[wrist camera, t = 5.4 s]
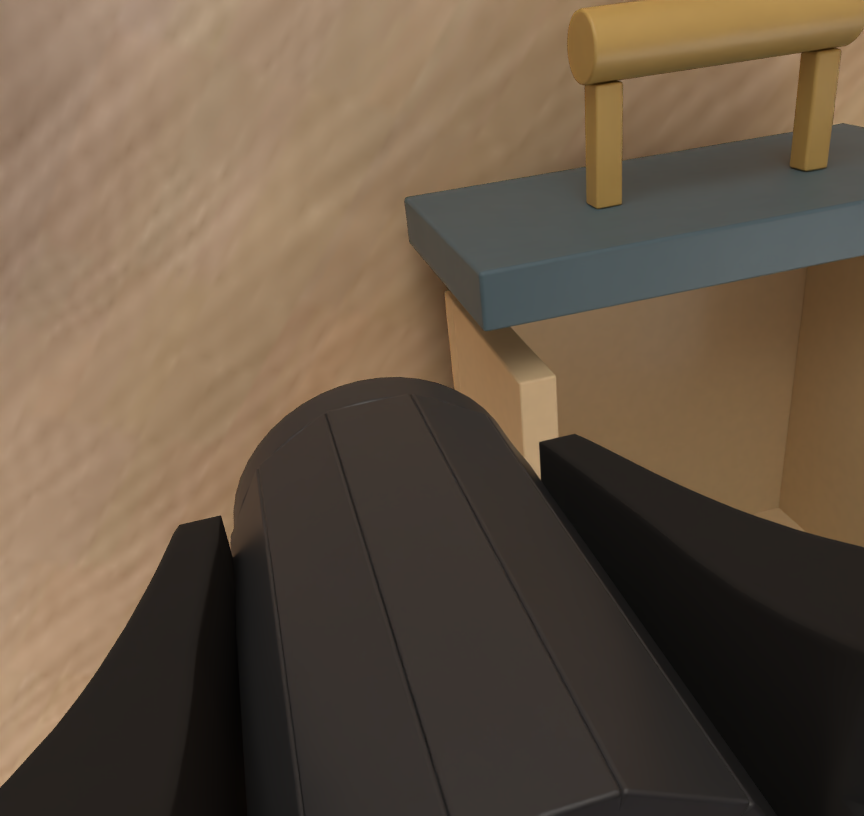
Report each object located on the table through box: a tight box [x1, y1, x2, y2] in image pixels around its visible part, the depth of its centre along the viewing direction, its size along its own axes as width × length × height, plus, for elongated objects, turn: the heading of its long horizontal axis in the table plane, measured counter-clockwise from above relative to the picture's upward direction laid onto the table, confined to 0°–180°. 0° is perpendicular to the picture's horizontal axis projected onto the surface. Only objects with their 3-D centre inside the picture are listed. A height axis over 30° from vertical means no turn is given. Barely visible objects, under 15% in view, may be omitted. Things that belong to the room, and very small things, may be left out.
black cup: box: [231, 377, 777, 816], centre depth 11 cm, size 5×5×8 cm
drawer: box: [404, 0, 864, 547], centre depth 21 cm, size 16×12×6 cm
